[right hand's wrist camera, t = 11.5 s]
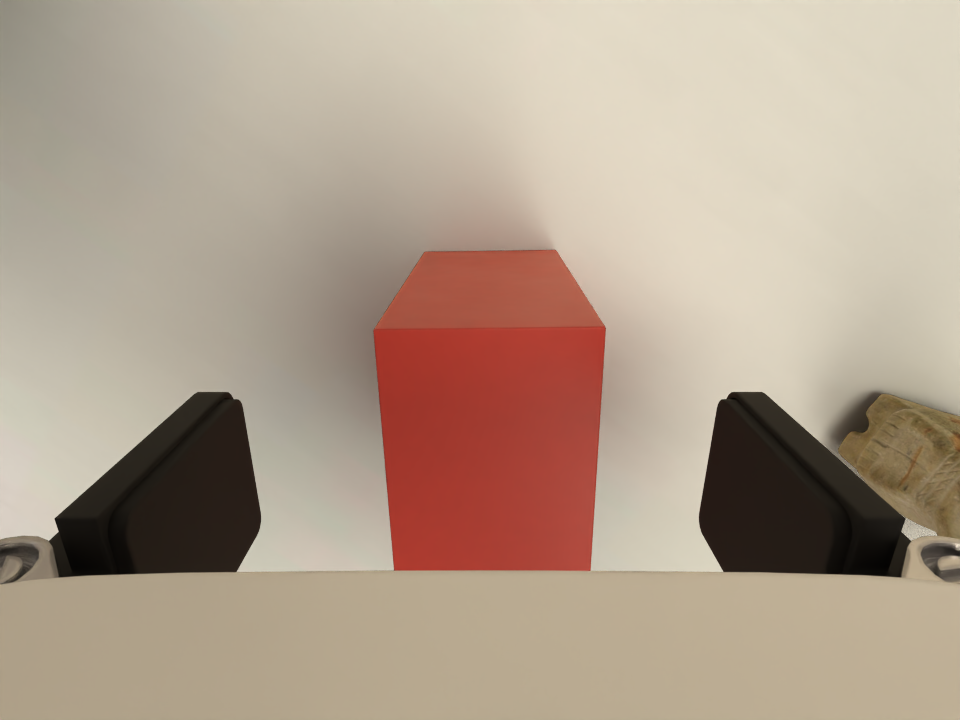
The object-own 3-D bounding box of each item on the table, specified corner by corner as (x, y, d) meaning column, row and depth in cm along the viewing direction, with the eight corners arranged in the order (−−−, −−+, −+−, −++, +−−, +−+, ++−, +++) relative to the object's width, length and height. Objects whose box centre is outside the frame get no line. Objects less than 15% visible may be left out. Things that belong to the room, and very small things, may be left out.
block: (556, 249, 24) (606, 326, 14) (550, 429, 27) (588, 606, 17) (423, 251, 25) (372, 329, 14) (433, 430, 28) (396, 606, 17)
